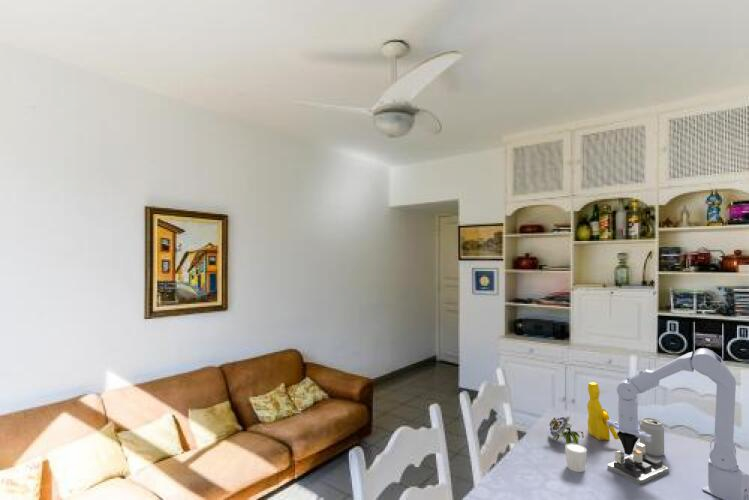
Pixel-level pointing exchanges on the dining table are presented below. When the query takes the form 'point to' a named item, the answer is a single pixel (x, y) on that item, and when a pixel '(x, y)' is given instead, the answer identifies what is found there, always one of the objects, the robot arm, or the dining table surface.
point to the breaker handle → (637, 456)
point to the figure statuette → (598, 416)
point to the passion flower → (563, 430)
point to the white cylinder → (576, 457)
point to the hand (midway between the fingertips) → (628, 453)
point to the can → (653, 436)
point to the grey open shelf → (638, 466)
